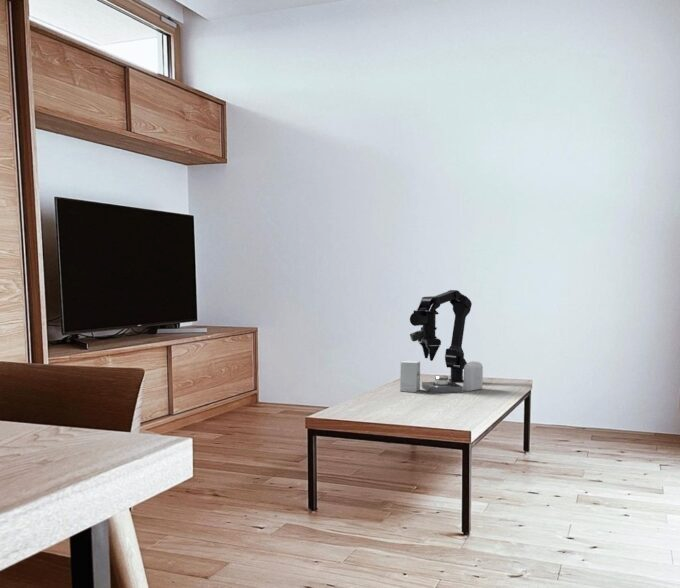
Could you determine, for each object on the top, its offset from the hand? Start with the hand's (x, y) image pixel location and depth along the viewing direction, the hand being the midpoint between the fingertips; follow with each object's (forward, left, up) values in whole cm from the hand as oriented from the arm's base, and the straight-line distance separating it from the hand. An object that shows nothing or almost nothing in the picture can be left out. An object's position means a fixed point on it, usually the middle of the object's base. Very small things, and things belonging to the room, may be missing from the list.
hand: (428, 359), depth 306 cm
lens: (+11, +3, -12) cm, 17 cm away
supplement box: (+11, -11, -12) cm, 20 cm away
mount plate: (+11, +3, -12) cm, 17 cm away
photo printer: (+11, +17, -12) cm, 24 cm away
